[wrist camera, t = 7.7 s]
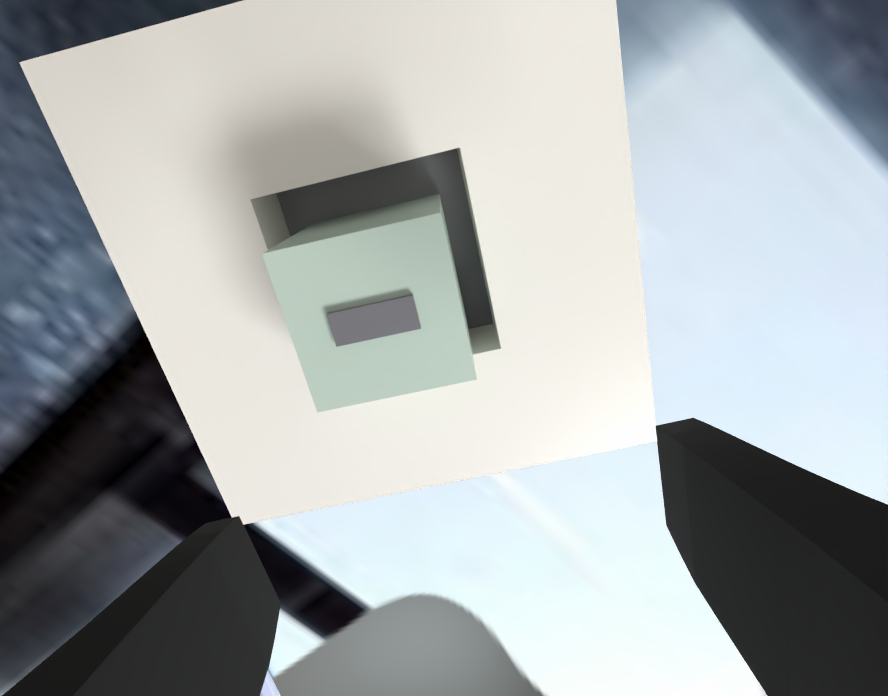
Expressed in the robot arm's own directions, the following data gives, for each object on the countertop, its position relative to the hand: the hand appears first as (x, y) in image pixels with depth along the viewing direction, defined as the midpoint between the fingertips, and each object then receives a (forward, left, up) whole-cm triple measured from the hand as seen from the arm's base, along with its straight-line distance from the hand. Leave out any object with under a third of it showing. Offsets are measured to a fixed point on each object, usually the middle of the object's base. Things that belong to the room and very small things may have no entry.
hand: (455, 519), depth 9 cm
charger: (-1, +3, -9) cm, 10 cm away
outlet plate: (-1, +3, -9) cm, 10 cm away
